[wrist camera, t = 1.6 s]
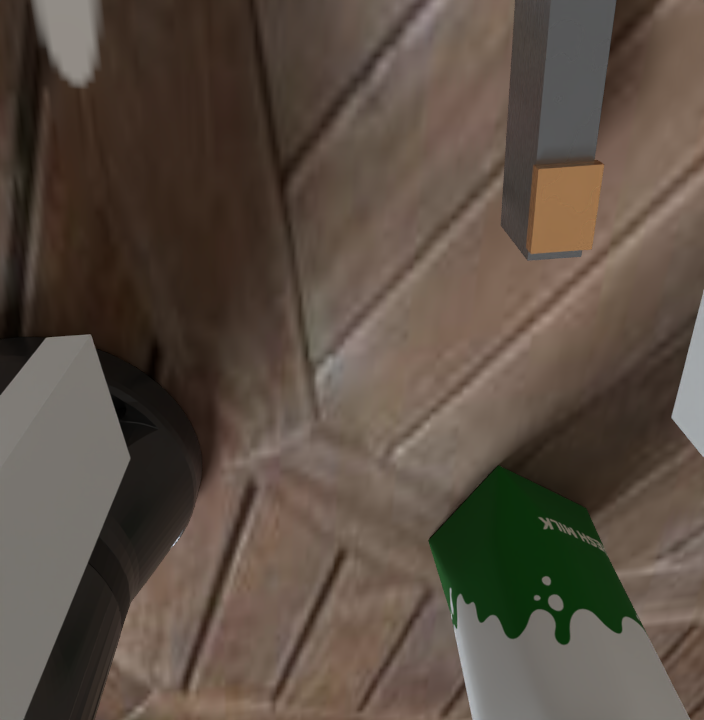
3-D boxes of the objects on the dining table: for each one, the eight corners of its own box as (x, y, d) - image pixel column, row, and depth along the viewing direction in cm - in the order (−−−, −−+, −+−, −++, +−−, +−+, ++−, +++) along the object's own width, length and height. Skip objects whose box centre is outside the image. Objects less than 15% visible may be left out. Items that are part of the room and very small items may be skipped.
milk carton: (607, 503, 38) (844, 929, 21) (513, 589, 42) (648, 1010, 24) (495, 446, 35) (661, 883, 18) (406, 545, 39) (472, 982, 22)
